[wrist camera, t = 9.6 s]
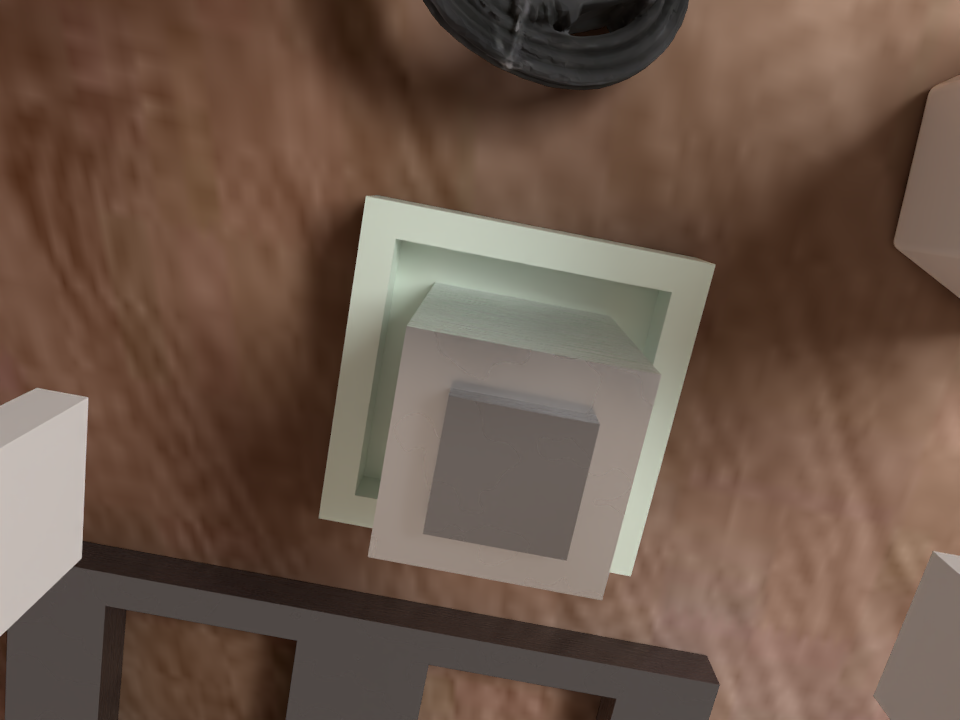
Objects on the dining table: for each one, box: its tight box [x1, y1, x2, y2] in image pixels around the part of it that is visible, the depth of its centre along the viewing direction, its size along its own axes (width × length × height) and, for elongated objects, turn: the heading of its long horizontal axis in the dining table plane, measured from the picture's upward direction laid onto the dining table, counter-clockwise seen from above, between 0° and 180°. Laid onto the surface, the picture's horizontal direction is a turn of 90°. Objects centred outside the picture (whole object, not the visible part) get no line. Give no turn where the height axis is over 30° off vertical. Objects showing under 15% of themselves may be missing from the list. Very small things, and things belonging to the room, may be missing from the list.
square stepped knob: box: [368, 282, 661, 600], centre depth 19 cm, size 6×6×8 cm
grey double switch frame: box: [5, 541, 720, 720], centre depth 25 cm, size 24×9×2 cm, turn 79°
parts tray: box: [319, 195, 716, 576], centre depth 22 cm, size 10×10×2 cm
